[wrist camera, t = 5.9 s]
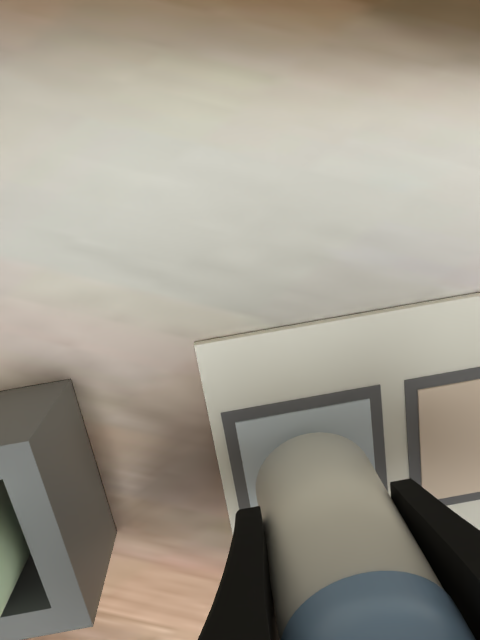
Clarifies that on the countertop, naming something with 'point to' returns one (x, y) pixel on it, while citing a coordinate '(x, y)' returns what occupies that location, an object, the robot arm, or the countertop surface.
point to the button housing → (53, 511)
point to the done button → (10, 547)
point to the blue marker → (345, 550)
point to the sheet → (355, 396)
